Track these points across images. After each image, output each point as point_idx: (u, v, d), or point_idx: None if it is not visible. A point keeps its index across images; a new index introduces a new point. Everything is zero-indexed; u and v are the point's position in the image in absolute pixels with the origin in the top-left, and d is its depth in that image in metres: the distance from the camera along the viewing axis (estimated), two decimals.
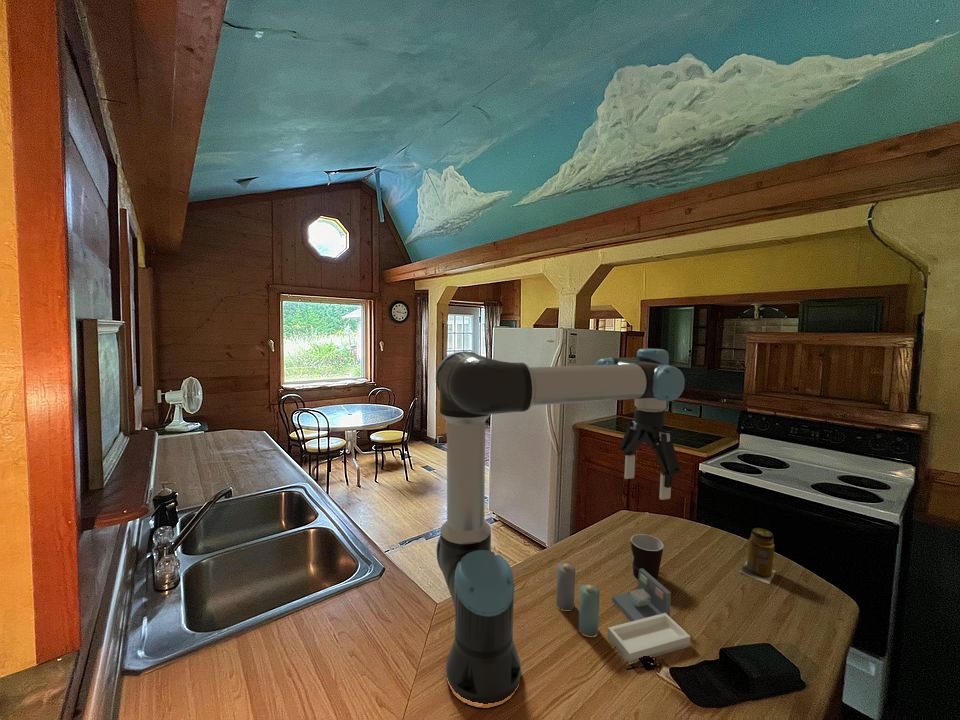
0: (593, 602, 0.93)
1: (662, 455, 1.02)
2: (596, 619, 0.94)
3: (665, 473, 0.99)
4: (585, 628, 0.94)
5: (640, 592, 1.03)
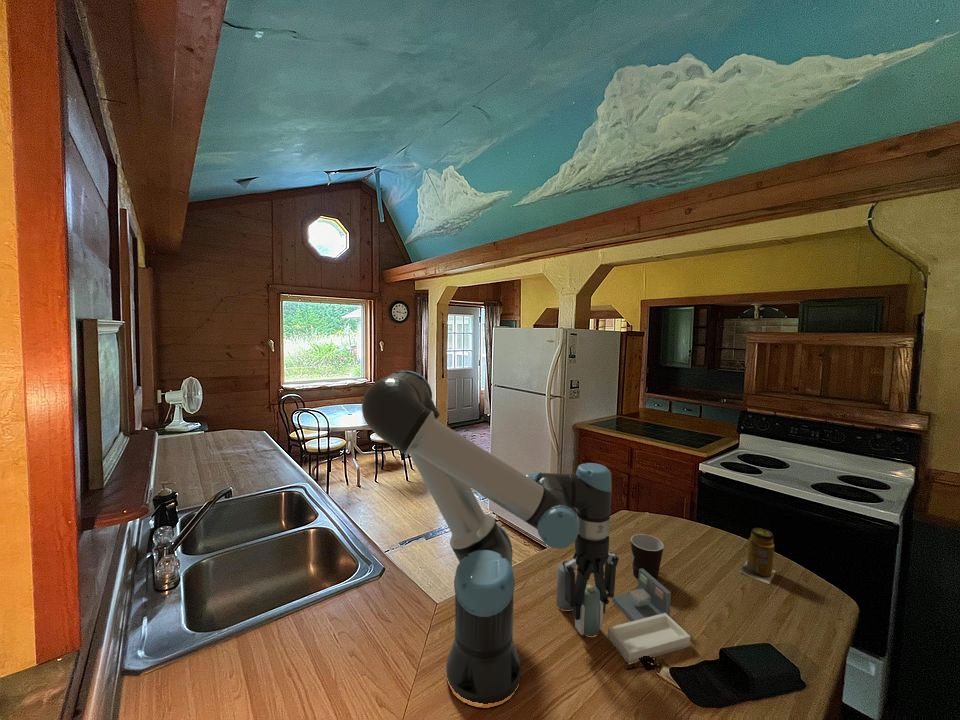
0: (593, 601, 0.93)
1: (577, 584, 0.94)
2: (596, 619, 0.94)
3: None
4: (585, 628, 0.94)
5: (640, 592, 1.03)
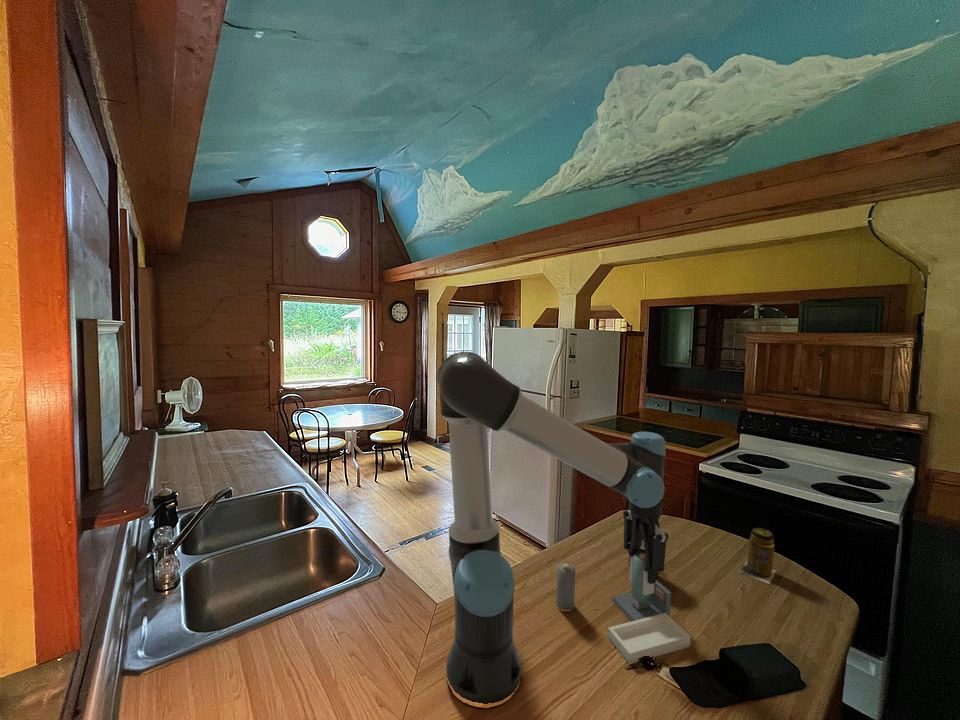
0: None
1: (651, 551, 0.98)
2: None
3: (648, 571, 0.97)
4: None
5: None
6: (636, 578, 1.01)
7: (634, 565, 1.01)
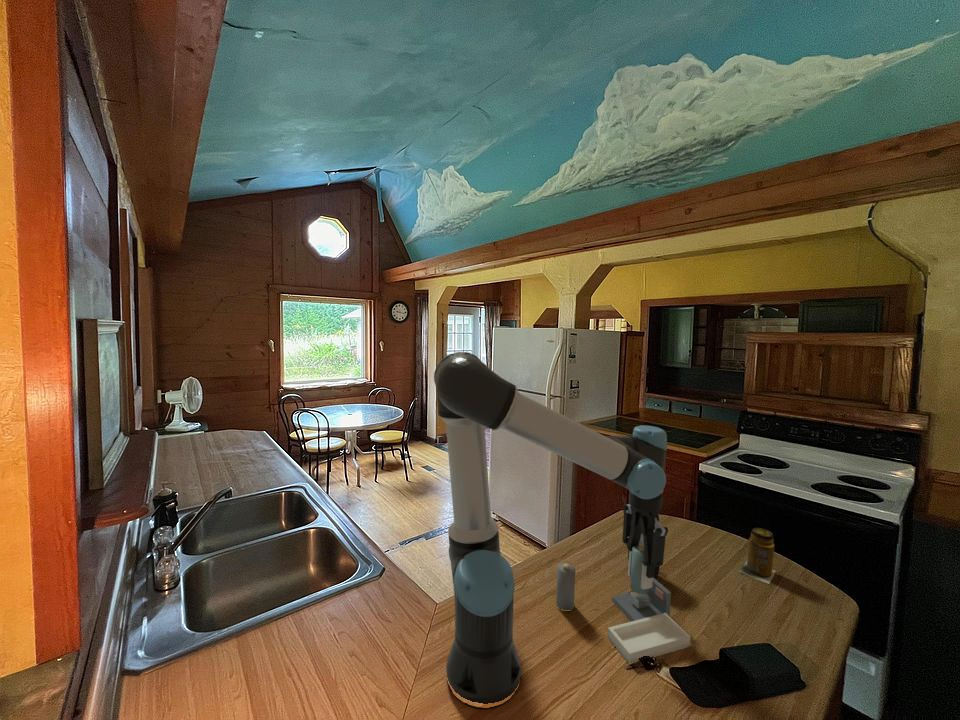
0: None
1: (650, 545, 0.98)
2: None
3: (647, 565, 0.97)
4: None
5: (640, 594, 1.03)
6: (634, 570, 1.00)
7: (633, 557, 1.01)
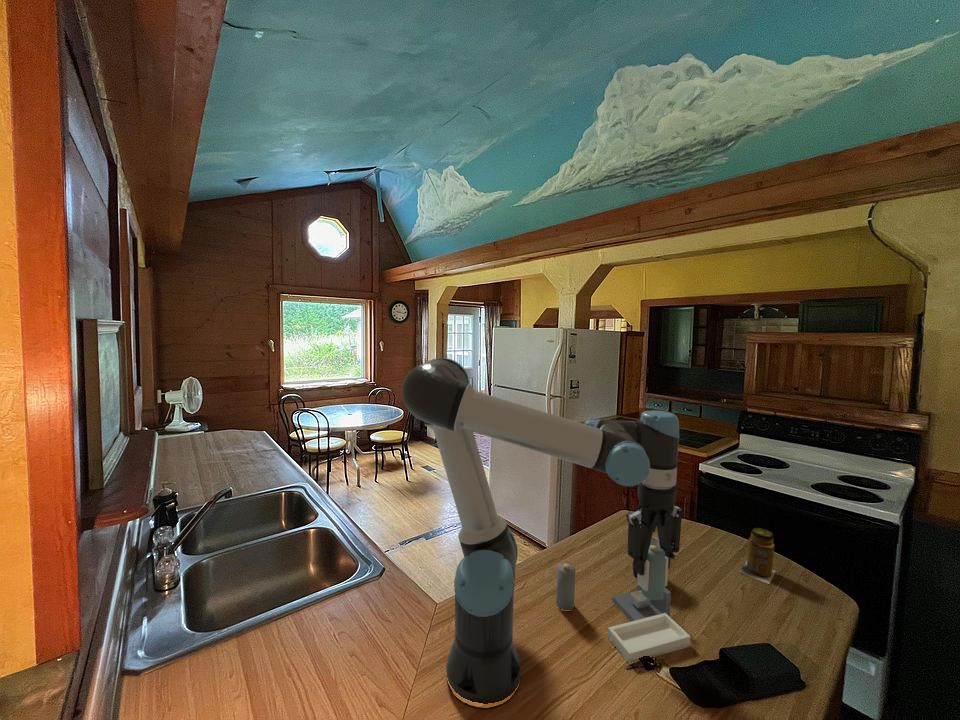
0: (658, 561, 0.88)
1: (641, 538, 0.89)
2: (662, 580, 0.89)
3: None
4: (650, 590, 0.89)
5: (640, 594, 1.03)
6: None
7: None
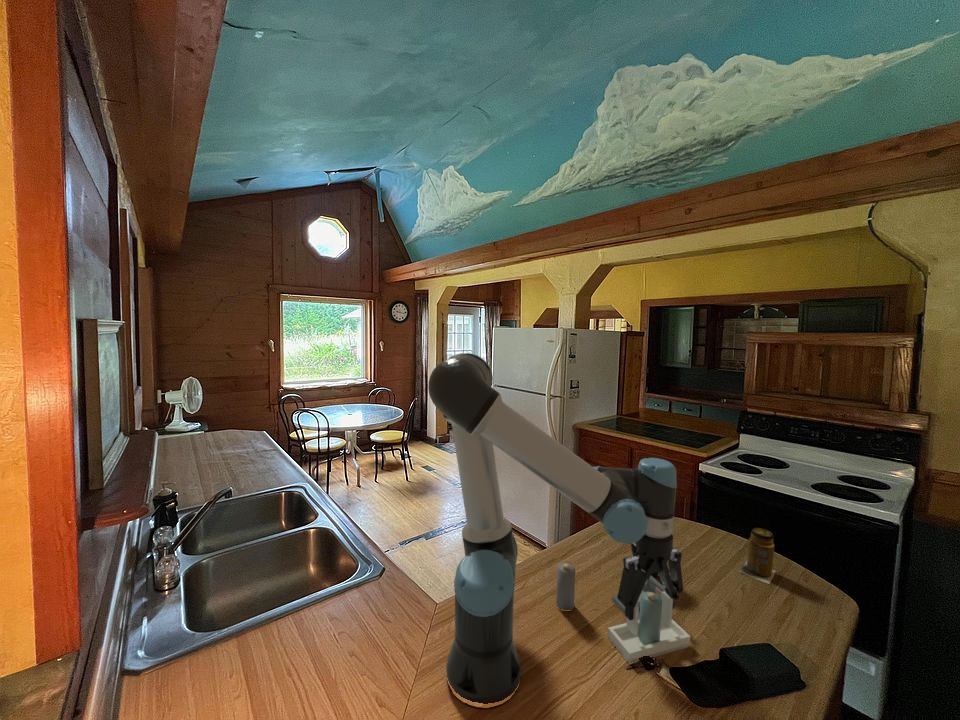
0: (655, 610, 0.89)
1: (634, 583, 0.90)
2: (658, 628, 0.90)
3: None
4: (647, 637, 0.90)
5: (640, 594, 1.03)
6: None
7: None
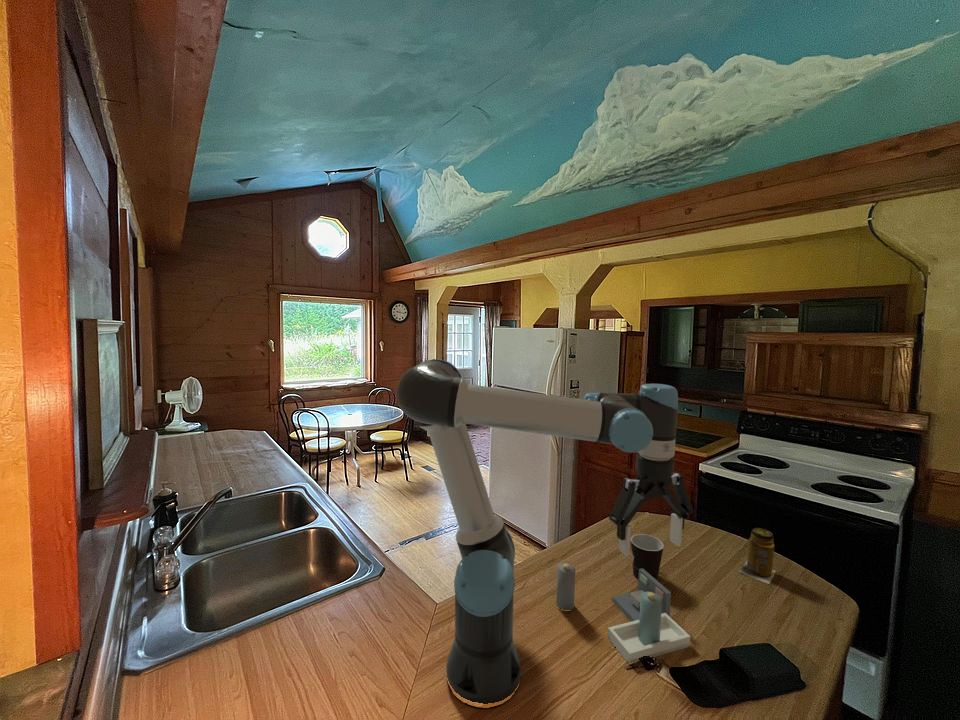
0: (655, 610, 0.89)
1: (630, 504, 0.89)
2: (658, 628, 0.90)
3: None
4: (647, 637, 0.90)
5: (640, 594, 1.03)
6: None
7: None
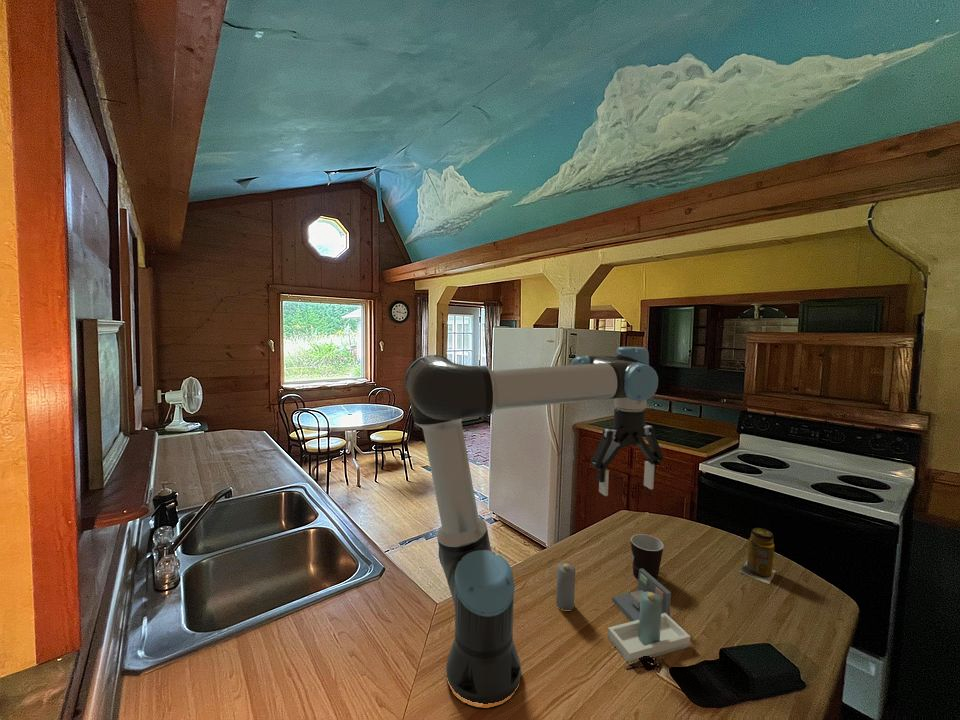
0: (655, 610, 0.89)
1: (608, 451, 1.02)
2: (658, 628, 0.90)
3: None
4: (647, 637, 0.90)
5: (640, 594, 1.03)
6: None
7: None
